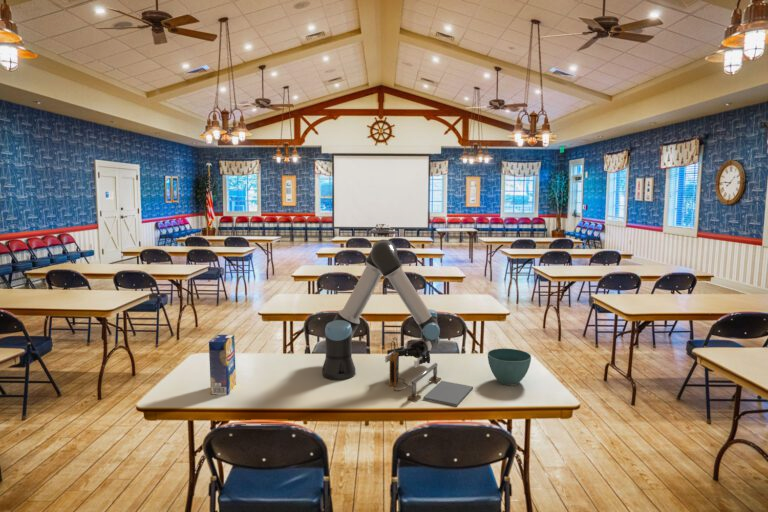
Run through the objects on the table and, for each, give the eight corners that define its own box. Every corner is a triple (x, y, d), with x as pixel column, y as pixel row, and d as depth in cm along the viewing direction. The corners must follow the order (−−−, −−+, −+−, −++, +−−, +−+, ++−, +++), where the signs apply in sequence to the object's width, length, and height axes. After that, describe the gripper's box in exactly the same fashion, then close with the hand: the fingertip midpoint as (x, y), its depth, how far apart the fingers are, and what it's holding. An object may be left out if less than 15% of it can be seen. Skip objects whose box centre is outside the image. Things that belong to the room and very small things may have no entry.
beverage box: (236, 384, 211) (234, 334, 208) (227, 395, 200) (225, 342, 198) (220, 384, 211) (218, 334, 209) (210, 395, 200) (208, 342, 198)
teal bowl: (478, 382, 215) (479, 354, 213) (500, 371, 228) (501, 345, 227) (517, 393, 203) (518, 364, 201) (537, 381, 216) (538, 354, 214)
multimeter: (411, 392, 203) (411, 345, 201) (387, 390, 205) (387, 343, 203) (416, 379, 218) (416, 335, 215) (394, 377, 220) (394, 334, 217)
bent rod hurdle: (407, 399, 196) (407, 380, 195) (432, 378, 219) (432, 361, 218) (416, 401, 194) (416, 382, 193) (441, 380, 217) (441, 362, 216)
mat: (423, 399, 196) (423, 397, 196) (441, 382, 214) (441, 380, 214) (456, 406, 190) (456, 404, 190) (473, 388, 207) (473, 386, 207)
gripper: (446, 360, 221) (427, 375, 203) (396, 352, 233) (374, 365, 214) (446, 344, 220) (428, 357, 202) (396, 336, 232) (374, 348, 213)
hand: (400, 361), depth 208 cm, fingers open, 13 cm apart
